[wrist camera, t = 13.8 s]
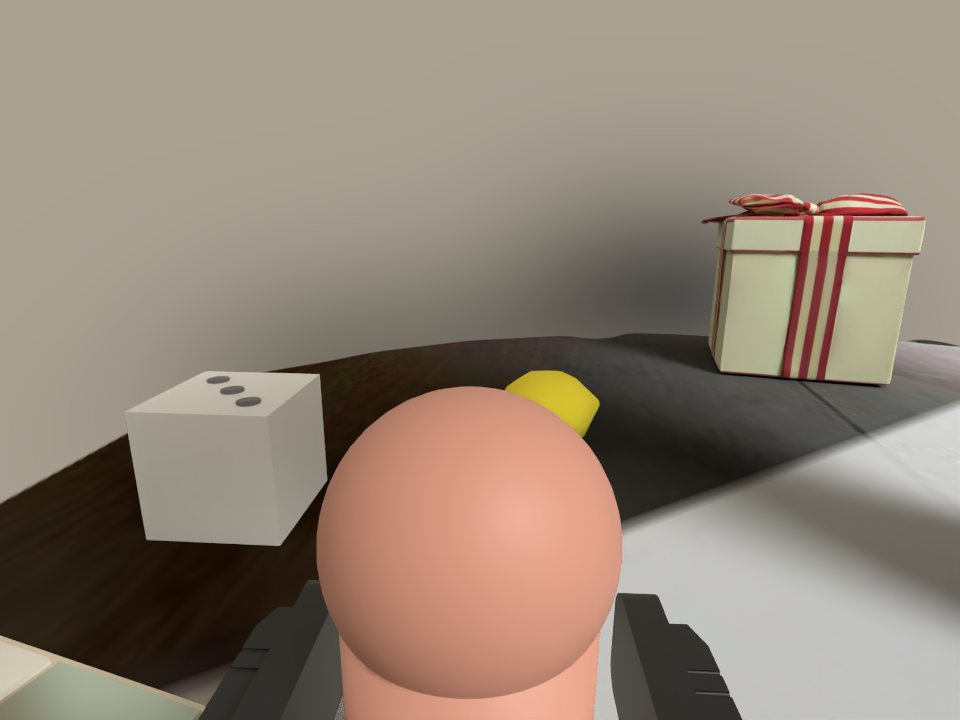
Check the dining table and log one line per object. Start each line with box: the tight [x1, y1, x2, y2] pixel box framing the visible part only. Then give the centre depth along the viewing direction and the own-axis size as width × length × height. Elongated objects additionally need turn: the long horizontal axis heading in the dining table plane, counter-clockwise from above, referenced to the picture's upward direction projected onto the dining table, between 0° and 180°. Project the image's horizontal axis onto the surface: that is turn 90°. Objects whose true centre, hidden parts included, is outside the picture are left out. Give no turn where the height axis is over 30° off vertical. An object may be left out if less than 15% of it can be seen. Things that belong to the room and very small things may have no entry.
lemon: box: [505, 371, 599, 438], centre depth 36 cm, size 7×5×5 cm
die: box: [124, 371, 327, 546], centre depth 28 cm, size 6×6×7 cm
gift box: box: [701, 193, 926, 385], centre depth 57 cm, size 17×18×17 cm
